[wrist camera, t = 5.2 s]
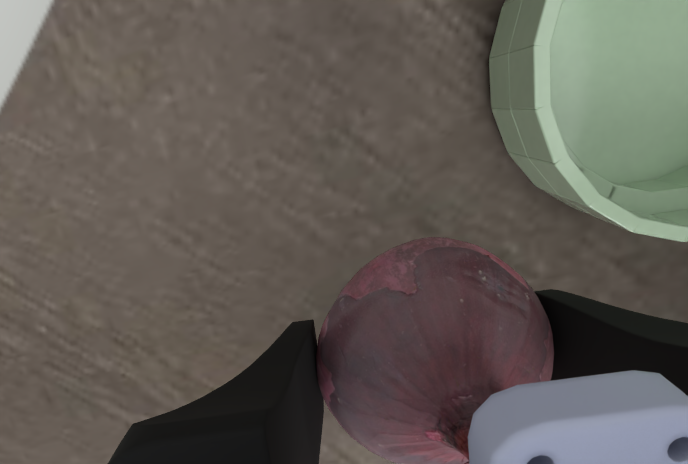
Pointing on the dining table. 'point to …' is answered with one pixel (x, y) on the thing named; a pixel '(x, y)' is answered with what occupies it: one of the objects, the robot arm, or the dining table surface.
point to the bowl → (598, 106)
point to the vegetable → (428, 347)
